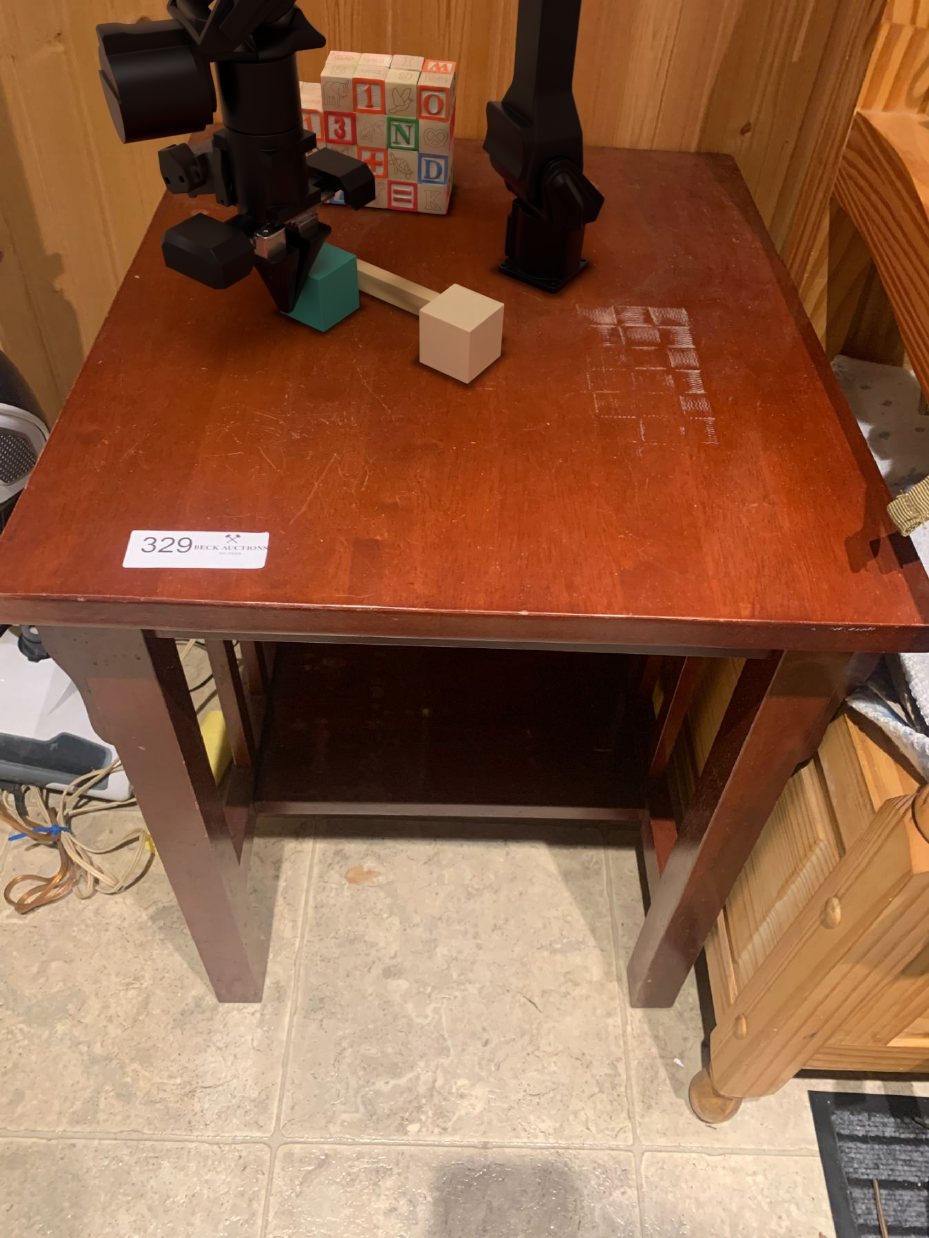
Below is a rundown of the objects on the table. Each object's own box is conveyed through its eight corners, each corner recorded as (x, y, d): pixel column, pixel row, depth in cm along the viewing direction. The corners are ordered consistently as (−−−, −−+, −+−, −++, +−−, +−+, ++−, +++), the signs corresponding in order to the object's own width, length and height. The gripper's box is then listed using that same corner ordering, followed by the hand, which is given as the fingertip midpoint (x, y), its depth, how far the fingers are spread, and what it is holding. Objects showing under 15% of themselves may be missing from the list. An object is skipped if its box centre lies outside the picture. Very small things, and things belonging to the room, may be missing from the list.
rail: (498, 339, 80) (499, 319, 79) (488, 347, 79) (489, 327, 78) (339, 270, 86) (338, 250, 85) (329, 277, 86) (327, 257, 84)
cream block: (500, 355, 79) (504, 304, 75) (467, 384, 76) (469, 331, 72) (453, 335, 80) (454, 283, 76) (419, 362, 78) (419, 309, 74)
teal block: (359, 307, 83) (356, 255, 79) (323, 332, 80) (318, 280, 76) (317, 288, 84) (312, 236, 80) (280, 312, 82) (273, 260, 78)
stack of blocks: (241, 197, 94) (221, 66, 85) (256, 169, 98) (238, 41, 89) (447, 215, 93) (450, 85, 84) (454, 186, 97) (457, 58, 88)
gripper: (268, 52, 74) (288, 237, 86) (84, 129, 64) (137, 326, 76) (376, 90, 70) (382, 277, 82) (199, 178, 60) (235, 376, 72)
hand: (286, 311), depth 78 cm, fingers closed
